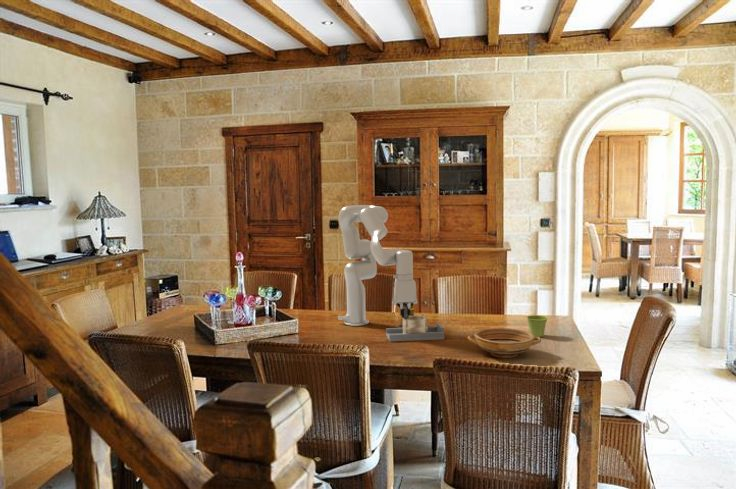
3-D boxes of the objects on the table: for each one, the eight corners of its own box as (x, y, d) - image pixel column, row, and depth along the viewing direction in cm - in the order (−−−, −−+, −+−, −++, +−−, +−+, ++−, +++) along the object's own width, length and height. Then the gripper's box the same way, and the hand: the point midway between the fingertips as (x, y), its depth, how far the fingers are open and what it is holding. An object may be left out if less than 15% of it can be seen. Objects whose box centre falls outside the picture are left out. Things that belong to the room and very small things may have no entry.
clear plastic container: (405, 337, 262) (405, 310, 261) (402, 332, 271) (401, 306, 269) (427, 336, 263) (427, 309, 262) (423, 331, 272) (423, 305, 270)
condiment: (417, 326, 286) (417, 303, 285) (404, 329, 281) (403, 305, 280) (408, 324, 292) (408, 300, 291) (395, 326, 287) (394, 302, 286)
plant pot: (546, 339, 259) (547, 320, 259) (525, 337, 263) (525, 319, 262) (548, 334, 268) (548, 315, 267) (527, 332, 271) (527, 314, 270)
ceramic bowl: (467, 361, 229) (467, 341, 228) (467, 344, 253) (467, 326, 252) (545, 363, 224) (545, 343, 223) (537, 346, 248) (537, 328, 247)
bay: (389, 341, 260) (389, 330, 259) (386, 334, 272) (385, 324, 271) (444, 339, 262) (444, 328, 262) (438, 332, 274) (438, 322, 274)
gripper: (388, 279, 259) (389, 319, 261) (423, 278, 261) (423, 318, 263) (386, 276, 267) (387, 315, 268) (419, 275, 268) (420, 314, 270)
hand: (405, 316), depth 266 cm, fingers closed
